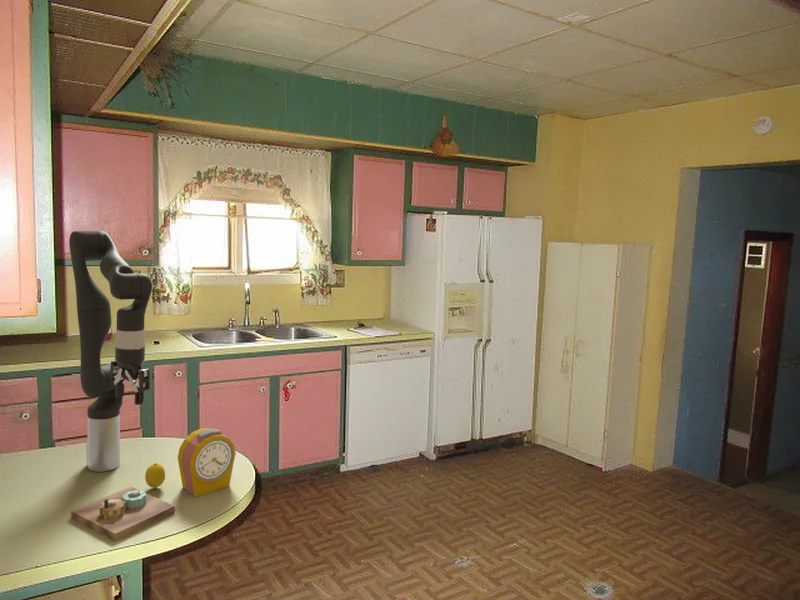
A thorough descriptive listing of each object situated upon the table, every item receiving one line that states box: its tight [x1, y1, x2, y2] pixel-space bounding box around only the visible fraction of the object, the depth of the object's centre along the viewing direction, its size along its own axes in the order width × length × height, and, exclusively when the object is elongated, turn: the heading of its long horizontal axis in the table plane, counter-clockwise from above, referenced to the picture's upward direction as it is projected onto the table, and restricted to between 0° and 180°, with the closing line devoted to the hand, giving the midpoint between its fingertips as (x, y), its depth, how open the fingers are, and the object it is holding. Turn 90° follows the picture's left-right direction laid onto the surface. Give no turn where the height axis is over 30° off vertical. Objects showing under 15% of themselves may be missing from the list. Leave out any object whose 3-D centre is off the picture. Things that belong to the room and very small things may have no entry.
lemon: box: [144, 462, 166, 489], centre depth 177 cm, size 6×6×8 cm
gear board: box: [70, 486, 176, 542], centre depth 161 cm, size 19×18×6 cm
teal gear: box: [122, 489, 147, 509], centre depth 164 cm, size 6×6×2 cm
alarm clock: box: [177, 427, 236, 497], centre depth 180 cm, size 15×8×18 cm, turn 137°
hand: (129, 400), depth 167 cm, fingers open, 8 cm apart
